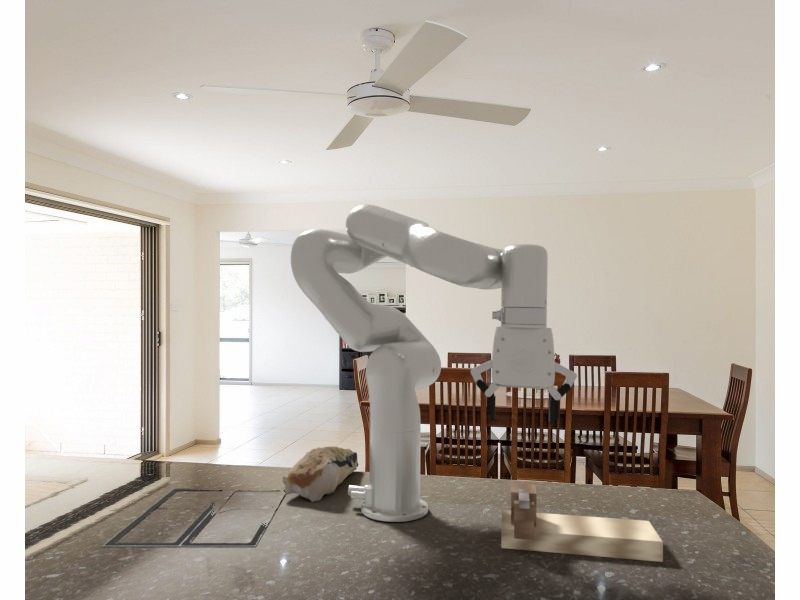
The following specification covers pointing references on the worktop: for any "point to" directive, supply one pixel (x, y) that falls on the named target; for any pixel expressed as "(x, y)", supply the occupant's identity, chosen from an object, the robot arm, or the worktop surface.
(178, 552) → the worktop surface
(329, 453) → the mineral
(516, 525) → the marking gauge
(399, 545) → the worktop surface
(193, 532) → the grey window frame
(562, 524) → the birch board
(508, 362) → the robot arm
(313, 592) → the worktop surface
